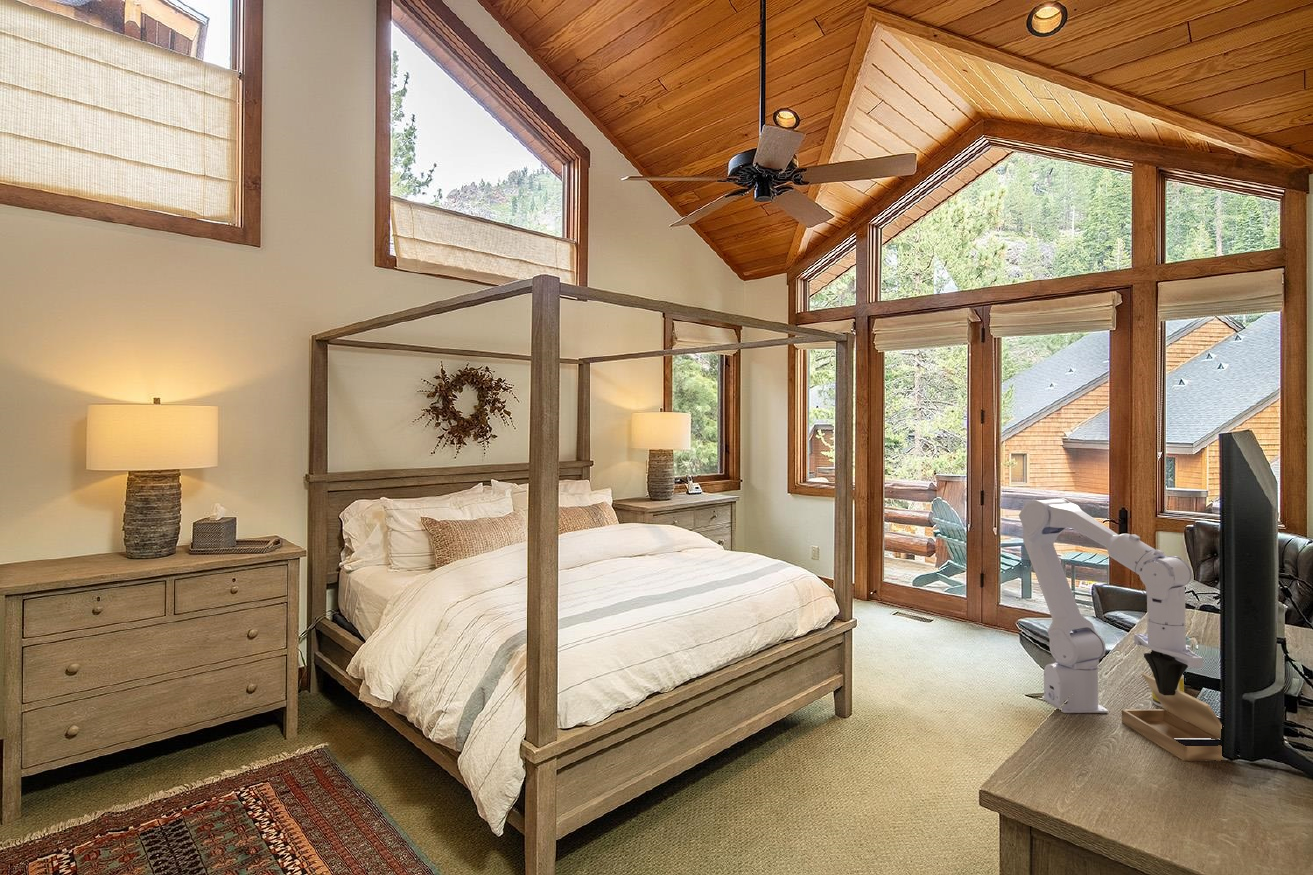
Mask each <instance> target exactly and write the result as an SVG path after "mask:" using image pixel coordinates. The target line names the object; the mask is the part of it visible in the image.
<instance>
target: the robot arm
mask: <svg viewBox="0 0 1313 875" xmlns="http://www.w3.org/2000/svg"><path fill="white" fill-rule="evenodd" d="M1018 517H1019V520H1020V522H1021V523H1020V524H1021V525H1022V541H1023V545H1024V547H1025V550H1026V553H1027V555H1028V558H1029V560H1030V562H1031V566H1032V569H1033V571H1034V574H1035V576H1036V579H1037V582H1038V585H1039V587H1040V590H1041V592H1042V595H1043V597H1044V598H1043V599H1044V601H1045V603H1046V606H1047V609H1048V611H1049V614H1050V617H1051V619H1052V621H1051V623H1050V625H1049V627H1048V629H1047V630H1046V631H1047V635H1048V638H1049V650H1050V654H1051V656H1052V657H1053V659H1054V660H1055V662H1053V663H1048V664H1046V665H1045V667H1044V669H1043V696H1041V699H1042V700H1044V701H1045V702H1047V703H1048V704H1049V705H1051V706H1053V707H1054V708H1056V709H1057V710H1058V708H1059V707H1060V706H1061V705H1062V704H1063V703H1064V702H1065V701H1066V700H1067V699H1068V701H1067V702H1066V703H1064V705H1063V706H1061V708H1062V710H1061V709H1060V710H1061V711H1060V710H1059V711H1060V712H1062V713H1064V714H1083V713H1084V714H1085V713H1086V714H1089V713H1090V714H1091V713H1092V714H1097V713H1099V714H1100V713H1103V714H1106V713H1107V714H1108V713H1109V710H1108V708H1105V707H1104V706H1103V705H1100V704H1099V671H1098V670H1099V668H1098V667H1099V666H1098V665H1099V664H1100V659H1102V658H1103V657H1104V656H1105V654H1106V650H1107V649H1106V643H1105V640H1104V639H1103V638H1102V636H1101V635H1100V634H1099V633H1098V631H1096V629H1095V626H1094V624H1093V623H1092V621H1090V620H1089V619H1087V618H1086V617H1084V616H1083V615H1082V614H1081V612H1080V610H1079V606H1078V604H1077V601H1076V598H1075V597H1074V593H1073V592H1072V589H1071V587H1070V583H1069V581H1068V578H1067V576H1066V573H1065V571H1064V569H1063V565H1062V563H1061V561H1060V560H1061V559H1060V558H1059V555H1058V553H1057V551H1056V548H1055V545H1054V544H1055V542H1056V540H1057V538H1058V536H1059V535H1061V533H1063V532H1064V531H1065V530H1066V529H1072V530H1074V531H1075V532H1077V533H1080V534H1081V535H1083V536H1085V537H1087V538H1088V539H1090V540H1092V541H1094V542H1095V543H1098V544H1099V545H1100V546H1103V547H1105V548H1106V549H1107V553H1108V556H1109V557H1110V558H1111V559H1113V560H1115V561H1116V562H1118V564H1121V565H1123V567H1125V568H1127V569H1129V570H1130V571H1132V572H1133V573H1135V574H1137V575H1139V579H1140V581H1141V582H1142V583H1143V585H1144V588H1145V594H1146V603H1147V604H1146V609H1147V610H1146V616H1147V619H1146V620H1147V625H1146V629H1147V634H1145V633H1135V634H1134V635H1133V640H1134V641H1133V643H1134V645H1137V646H1143V647H1145V648H1148V650H1152V651H1150V652H1144V653H1143V658H1144V660H1145V661H1146V662H1147V664H1148V666H1149V667H1150V670H1151V673H1152V672H1153V675H1154V678H1155V681H1156V684H1157V688H1158V691H1159V693H1161V694H1163V695H1175V693H1176V692H1175V690H1176V689H1177V686H1178V683H1179V681H1180V678H1181V676H1182V675H1183V673H1184V671H1185V670H1186V669H1188V668H1190V669H1204V663H1203V662H1204V660H1203V657H1202V656H1199V655H1198V654H1196V653H1195V652H1193V651H1192V646H1191V645H1190V646H1189V645H1186V636H1187V635H1186V634H1187V632H1186V629H1187V628H1186V623H1187V622H1186V621H1187V620H1186V586H1187V585H1188V584H1190V582H1191V580H1192V577H1193V573H1192V568H1191V567H1190V565H1189V564H1188V563H1187V562H1186V561H1185V560H1183V559H1182V557H1180V556H1177V555H1167V556H1166V555H1165V554H1164V553H1165V552H1164V551H1163V550H1161V549H1156V548H1153V547H1152V546H1150V545H1149V544H1147V543H1145V542H1143V541H1142V540H1141V537H1140V536H1139V535H1137V534H1136V533H1134V534H1133V533H1132V534H1130V533H1121V534H1118V533H1117V532H1115V531H1113V530H1112V529H1111V528H1109V527H1107V526H1106V525H1104V523H1101V522H1100V521H1099V520H1097V519H1095V517H1092V516H1091V515H1089V514H1088V513H1087V512H1085V511H1084V510H1082V508H1080V506H1079V504H1075V503H1073V502H1071V501H1069V499H1066V498H1063V497H1058V498H1057V497H1056V498H1054V499H1053V498H1052V499H1039V500H1038V499H1031V500H1028V501H1027V502H1025V504H1024V505H1023V507H1022V509H1021V510H1020V513H1019V514H1018ZM1072 694H1073V695H1072ZM1069 696H1070V697H1069ZM1068 697H1069V698H1068Z"/></svg>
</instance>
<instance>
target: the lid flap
mask: <svg viewBox="0 0 1313 875" xmlns="http://www.w3.org/2000/svg"><path fill="white" fill-rule="evenodd" d="M1140 675H1141V676H1142V678H1144V681H1145V682H1146V683H1147V685H1148V687H1149V688H1150V689H1151V690H1150V691H1153V693H1154V694H1155V696H1156V697H1157V699H1158V700H1159V702H1160V703H1161V705H1162V706H1163V709H1165V710H1167V711H1168V712H1170V713H1172V714H1174V715H1176V716H1178V717H1179V718H1181V719H1183V720H1185V721H1187V722H1189V723H1190V724H1192V725H1194V726H1196V727H1198V728H1200V729H1201V730H1203V731H1205V732H1207V733H1209V734H1211V735H1212V736H1214V737H1216V738H1218V739H1220V738H1221V729H1222V725H1223V724H1222V722H1221V721H1220V720H1219V718H1218V716H1217V715H1216V714H1215V711H1214V710H1213V708H1212V707H1211V706H1210V704H1209V703H1206V702H1204V701H1202V700H1200V699H1199V698H1196V697H1194V696H1192V695H1190V694H1188V693H1186V692H1185V691H1184V692H1182V691H1180V690H1178V689H1176V690H1175V692H1176V693H1175V695H1163V694H1161V693H1159V691H1158V688H1157V684H1156V681H1155V678H1154V677H1152V675H1149V674H1147V673H1145V672H1142V673H1141V674H1140ZM1220 740H1221V739H1220Z"/></svg>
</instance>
